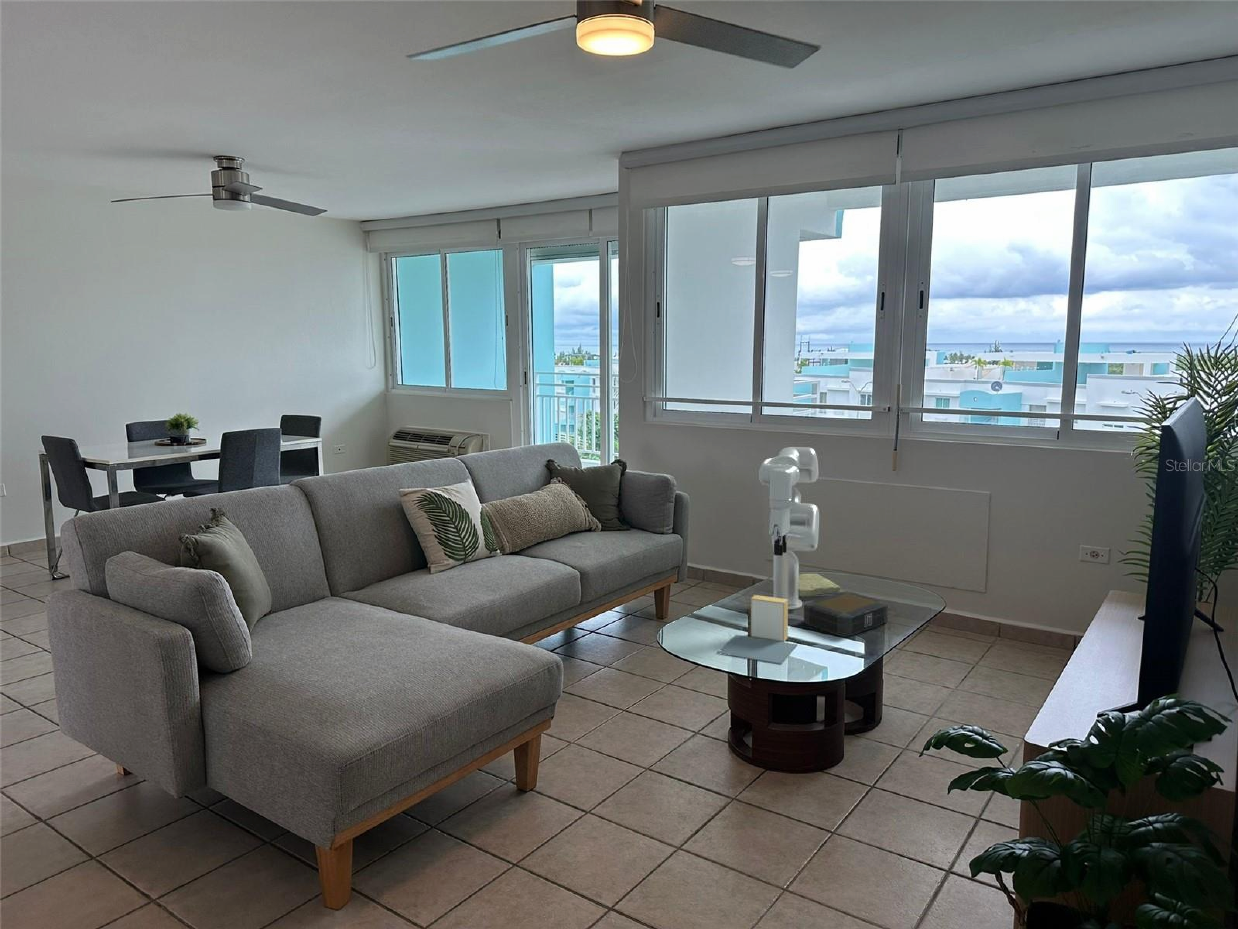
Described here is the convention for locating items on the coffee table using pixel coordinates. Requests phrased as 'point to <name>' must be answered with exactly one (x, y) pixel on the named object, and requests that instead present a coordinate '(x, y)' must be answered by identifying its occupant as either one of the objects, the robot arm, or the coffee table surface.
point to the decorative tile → (815, 585)
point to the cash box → (845, 613)
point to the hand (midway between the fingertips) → (780, 553)
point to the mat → (758, 649)
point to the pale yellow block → (769, 618)
